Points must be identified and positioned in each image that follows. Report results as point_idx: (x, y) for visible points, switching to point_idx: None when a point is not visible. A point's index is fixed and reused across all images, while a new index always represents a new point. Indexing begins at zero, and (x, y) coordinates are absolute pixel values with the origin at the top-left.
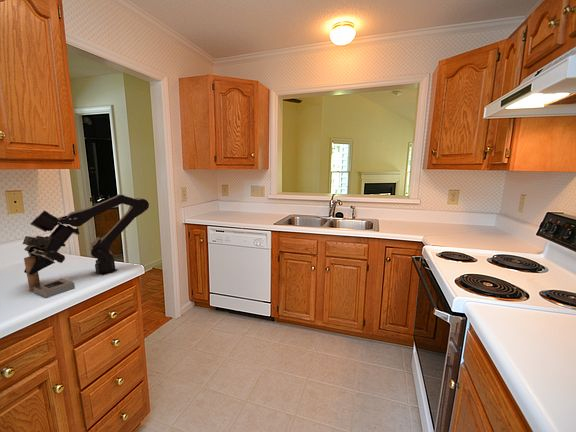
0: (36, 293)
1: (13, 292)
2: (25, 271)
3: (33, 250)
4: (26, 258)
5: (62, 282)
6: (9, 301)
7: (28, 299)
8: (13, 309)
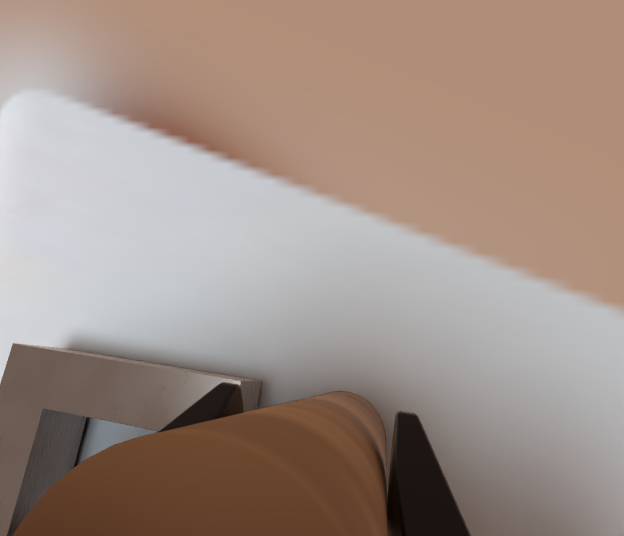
0: (222, 374)
1: (502, 331)
2: (397, 429)
3: None
4: (136, 486)
5: None
6: (297, 216)
7: (189, 289)
8: (124, 165)
